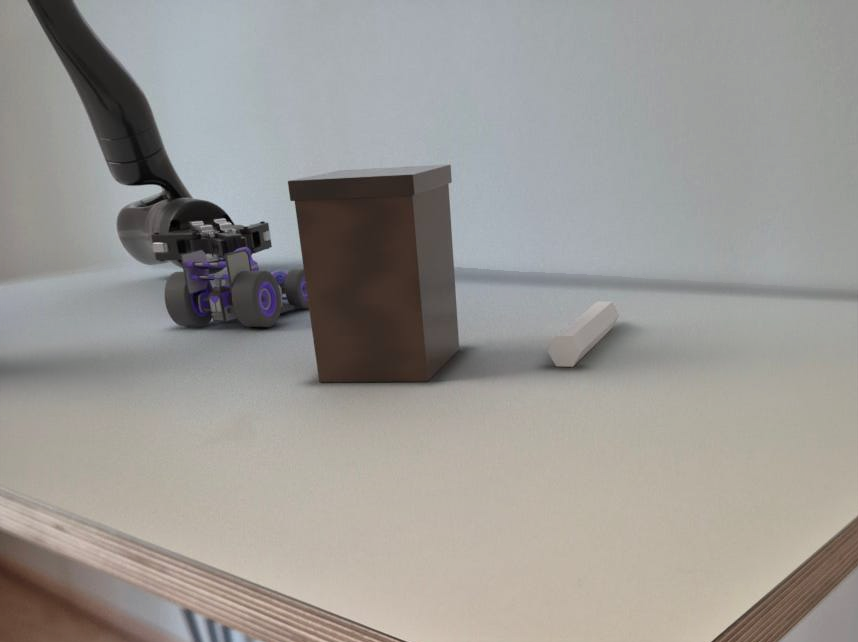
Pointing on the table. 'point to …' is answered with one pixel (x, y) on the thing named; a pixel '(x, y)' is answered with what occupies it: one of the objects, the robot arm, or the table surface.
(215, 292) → the toy race car
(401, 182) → the brown lidded box
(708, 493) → the table surface
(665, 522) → the table surface
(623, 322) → the table surface
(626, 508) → the table surface
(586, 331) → the grey hexagonal bar
